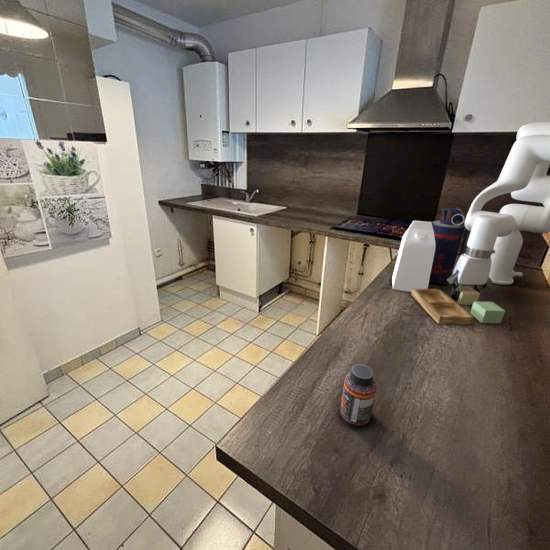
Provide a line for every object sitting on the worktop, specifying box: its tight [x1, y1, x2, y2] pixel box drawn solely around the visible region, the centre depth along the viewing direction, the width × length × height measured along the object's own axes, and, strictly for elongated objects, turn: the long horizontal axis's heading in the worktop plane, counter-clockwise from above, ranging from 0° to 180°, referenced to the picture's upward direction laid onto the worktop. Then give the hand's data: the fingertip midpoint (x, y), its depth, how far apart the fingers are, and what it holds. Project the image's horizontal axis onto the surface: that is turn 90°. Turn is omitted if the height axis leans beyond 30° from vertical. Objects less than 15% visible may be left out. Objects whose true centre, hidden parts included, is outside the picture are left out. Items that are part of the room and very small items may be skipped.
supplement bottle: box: [339, 363, 377, 427], centre depth 56 cm, size 6×6×11 cm
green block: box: [469, 301, 506, 324], centre depth 94 cm, size 6×6×4 cm
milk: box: [391, 220, 436, 293], centre depth 111 cm, size 12×12×26 cm
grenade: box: [429, 206, 470, 286], centre depth 116 cm, size 14×12×30 cm
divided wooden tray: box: [410, 288, 475, 325], centre depth 99 cm, size 10×20×3 cm, turn 0°
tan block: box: [450, 285, 481, 306], centre depth 105 cm, size 6×6×4 cm
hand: (463, 299), depth 105 cm, fingers closed on tan block, 6 cm apart
